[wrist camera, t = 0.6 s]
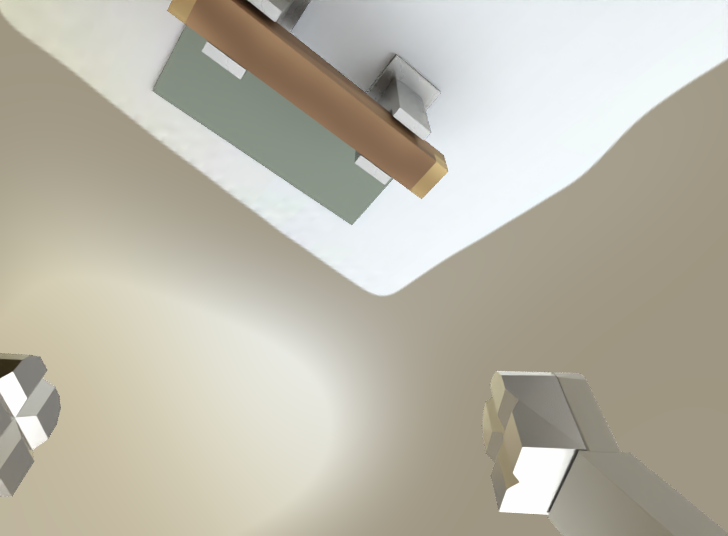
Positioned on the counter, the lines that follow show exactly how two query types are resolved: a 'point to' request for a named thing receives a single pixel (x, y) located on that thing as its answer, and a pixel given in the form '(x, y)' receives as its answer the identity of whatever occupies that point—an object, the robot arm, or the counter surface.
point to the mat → (267, 128)
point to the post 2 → (401, 104)
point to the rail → (314, 88)
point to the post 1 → (279, 4)
